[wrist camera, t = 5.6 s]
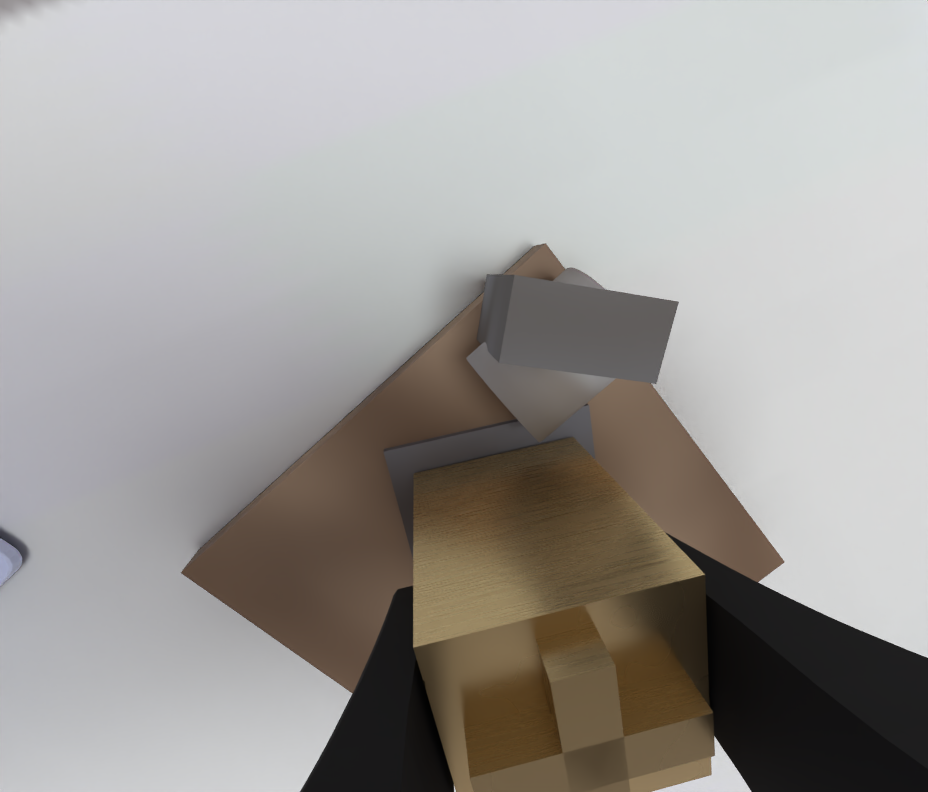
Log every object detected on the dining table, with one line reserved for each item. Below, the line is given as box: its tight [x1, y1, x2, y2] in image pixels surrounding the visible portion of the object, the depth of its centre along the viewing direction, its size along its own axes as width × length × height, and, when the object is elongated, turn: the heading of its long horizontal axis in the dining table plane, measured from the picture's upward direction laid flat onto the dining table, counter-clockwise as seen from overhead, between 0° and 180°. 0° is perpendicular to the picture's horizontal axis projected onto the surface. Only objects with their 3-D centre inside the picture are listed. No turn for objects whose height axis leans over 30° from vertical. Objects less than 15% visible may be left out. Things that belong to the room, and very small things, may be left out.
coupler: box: [413, 437, 715, 792], centre depth 9 cm, size 4×4×6 cm
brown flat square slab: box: [181, 243, 784, 693], centre depth 12 cm, size 14×13×4 cm
